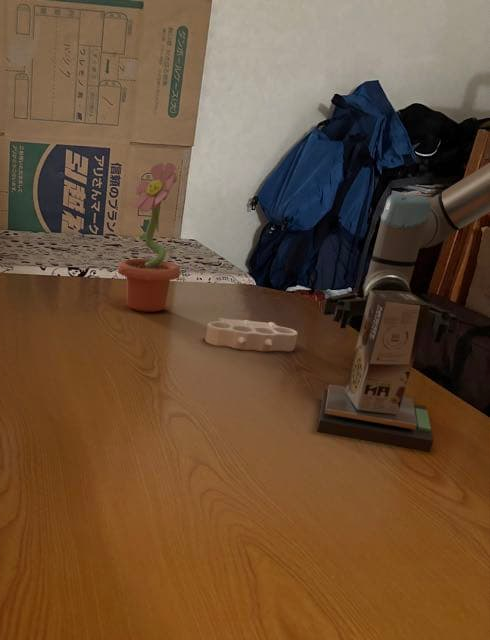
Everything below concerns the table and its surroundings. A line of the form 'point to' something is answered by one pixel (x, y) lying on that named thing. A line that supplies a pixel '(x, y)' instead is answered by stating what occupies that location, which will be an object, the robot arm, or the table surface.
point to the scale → (379, 429)
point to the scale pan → (344, 407)
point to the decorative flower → (151, 274)
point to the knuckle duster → (250, 335)
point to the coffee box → (386, 350)
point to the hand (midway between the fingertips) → (391, 326)
